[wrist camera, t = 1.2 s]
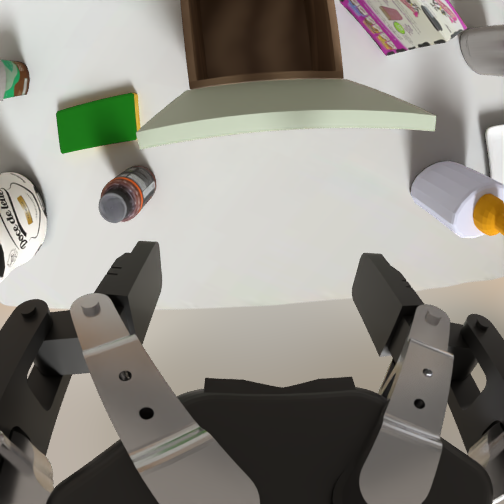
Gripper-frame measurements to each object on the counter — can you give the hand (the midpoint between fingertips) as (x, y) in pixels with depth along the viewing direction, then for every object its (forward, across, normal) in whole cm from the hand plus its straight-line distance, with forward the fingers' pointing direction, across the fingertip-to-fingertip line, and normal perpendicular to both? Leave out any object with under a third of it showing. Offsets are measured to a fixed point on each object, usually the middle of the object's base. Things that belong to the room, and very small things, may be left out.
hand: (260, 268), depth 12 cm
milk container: (+34, +43, +11) cm, 56 cm away
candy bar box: (+34, -17, -23) cm, 44 cm away
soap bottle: (+34, -34, +2) cm, 48 cm away
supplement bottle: (+34, +16, +6) cm, 38 cm away
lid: (+14, -2, -7) cm, 16 cm away
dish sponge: (+35, +23, -4) cm, 42 cm away
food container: (+34, +41, -16) cm, 56 cm away
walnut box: (+34, 0, -17) cm, 38 cm away
